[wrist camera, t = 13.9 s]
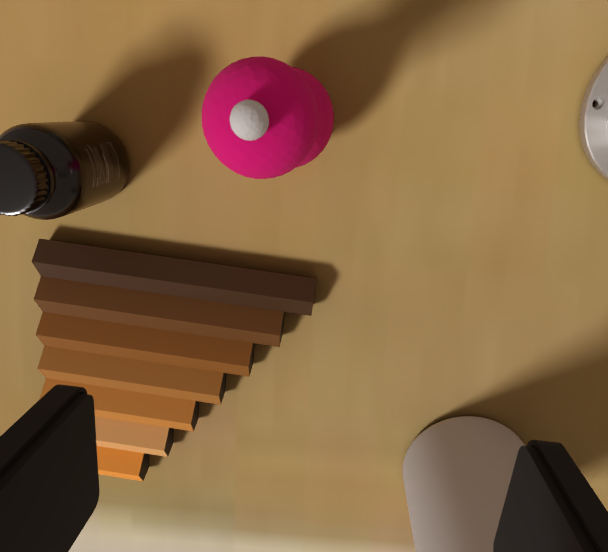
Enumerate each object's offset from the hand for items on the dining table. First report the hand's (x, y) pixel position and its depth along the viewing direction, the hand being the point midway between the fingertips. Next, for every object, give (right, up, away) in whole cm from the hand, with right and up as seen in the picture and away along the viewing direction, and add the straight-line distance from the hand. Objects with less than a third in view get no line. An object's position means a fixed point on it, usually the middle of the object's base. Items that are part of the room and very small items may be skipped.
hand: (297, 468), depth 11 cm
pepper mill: (-1, +17, +30) cm, 34 cm away
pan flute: (-13, -5, +39) cm, 41 cm away
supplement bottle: (-18, +14, +32) cm, 40 cm away
